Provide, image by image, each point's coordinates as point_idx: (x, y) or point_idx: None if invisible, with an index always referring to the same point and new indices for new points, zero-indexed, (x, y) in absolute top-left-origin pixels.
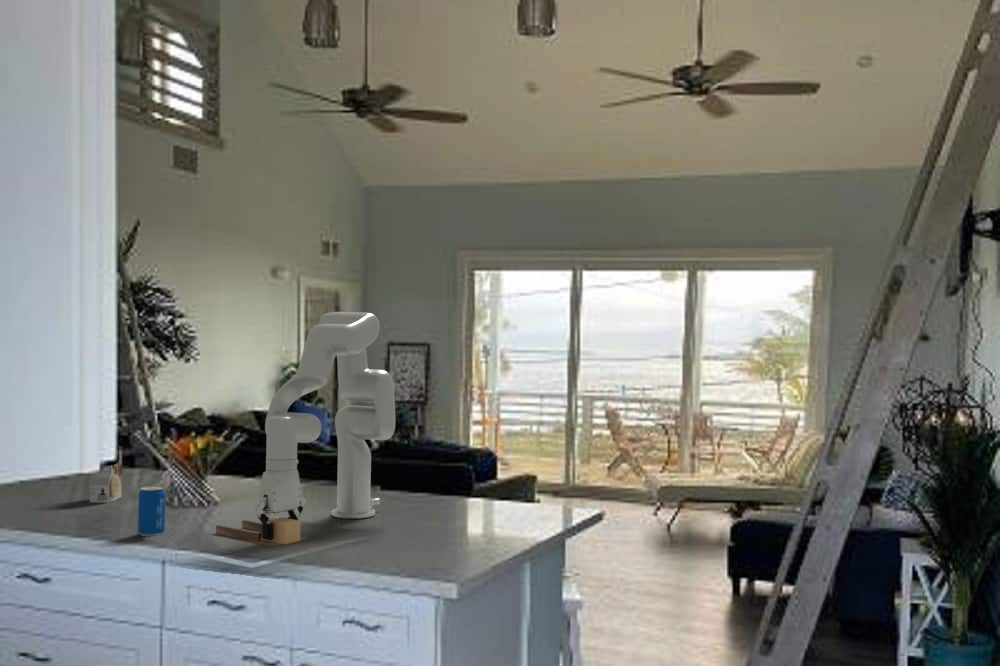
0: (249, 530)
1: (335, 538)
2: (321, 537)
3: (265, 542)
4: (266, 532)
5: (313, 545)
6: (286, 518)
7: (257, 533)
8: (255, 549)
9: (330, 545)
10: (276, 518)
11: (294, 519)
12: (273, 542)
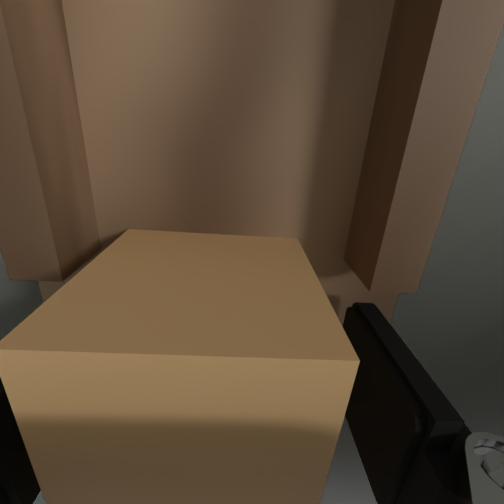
0: (9, 64)
1: (492, 425)
2: (494, 368)
3: None
4: None
5: None
6: (309, 495)
7: (7, 270)
8: (4, 296)
9: (341, 483)
10: (226, 426)
11: (383, 499)
12: None
